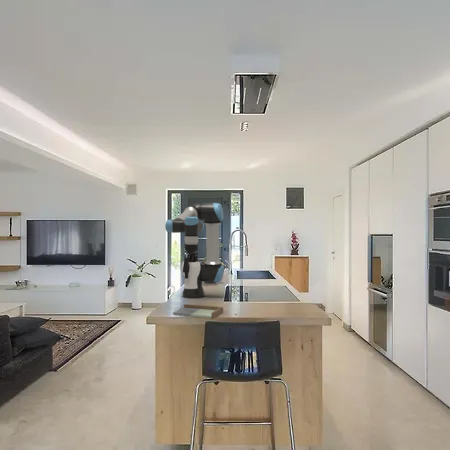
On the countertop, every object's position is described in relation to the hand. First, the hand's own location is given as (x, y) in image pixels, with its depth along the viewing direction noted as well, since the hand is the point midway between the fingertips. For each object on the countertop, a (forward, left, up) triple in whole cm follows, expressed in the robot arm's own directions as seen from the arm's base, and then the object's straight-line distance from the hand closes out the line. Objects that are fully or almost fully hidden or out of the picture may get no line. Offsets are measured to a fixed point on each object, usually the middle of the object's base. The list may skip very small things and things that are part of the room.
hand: (190, 282), depth 243 cm
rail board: (-2, +4, -17) cm, 18 cm away
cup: (0, 0, -3) cm, 3 cm away
